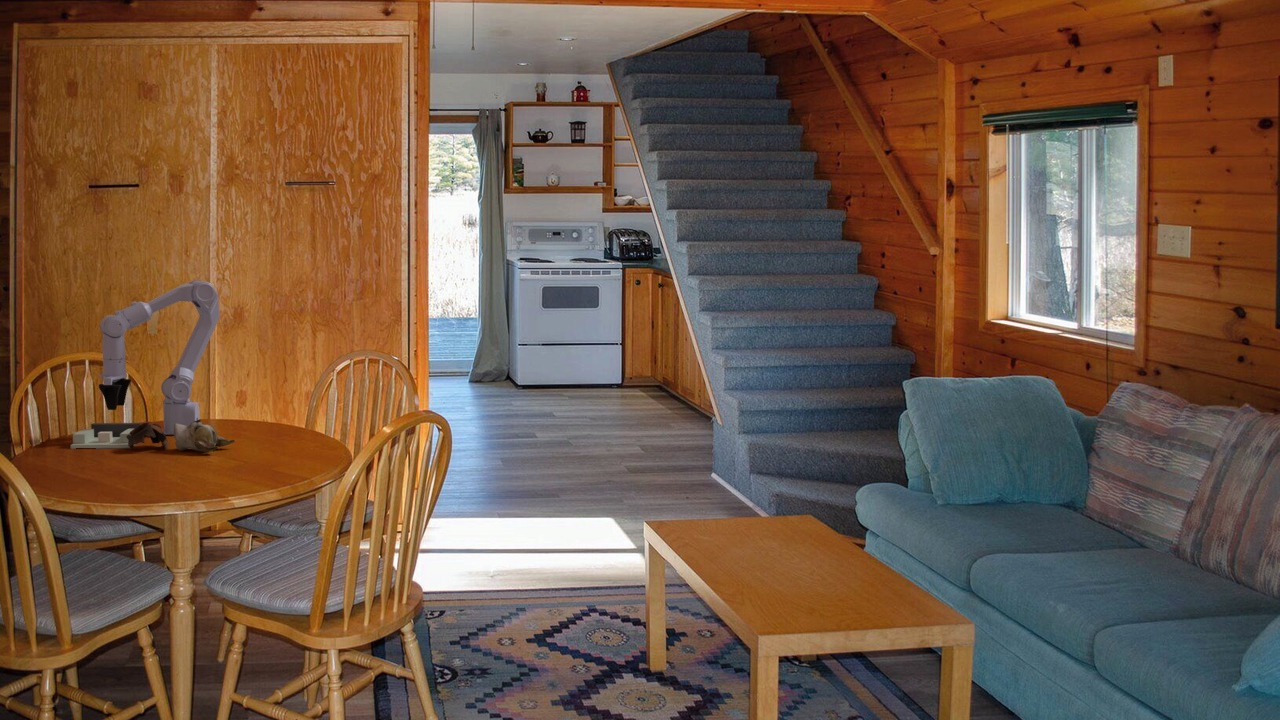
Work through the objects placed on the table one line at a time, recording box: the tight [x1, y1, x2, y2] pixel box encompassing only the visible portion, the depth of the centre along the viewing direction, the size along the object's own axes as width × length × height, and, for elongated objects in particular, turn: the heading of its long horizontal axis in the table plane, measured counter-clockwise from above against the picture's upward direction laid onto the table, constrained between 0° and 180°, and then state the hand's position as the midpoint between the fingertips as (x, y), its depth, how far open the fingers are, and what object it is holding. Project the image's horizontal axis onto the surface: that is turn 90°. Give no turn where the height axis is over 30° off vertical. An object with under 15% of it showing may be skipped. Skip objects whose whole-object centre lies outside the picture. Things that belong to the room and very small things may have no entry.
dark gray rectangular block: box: [90, 422, 144, 437], centre depth 344 cm, size 13×7×4 cm, turn 98°
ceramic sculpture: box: [173, 419, 236, 453], centre depth 325 cm, size 11×9×15 cm
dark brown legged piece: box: [126, 421, 170, 451], centre depth 327 cm, size 12×10×8 cm
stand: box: [70, 428, 133, 450], centre depth 332 cm, size 15×11×4 cm
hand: (116, 407), depth 341 cm, fingers open, 7 cm apart
